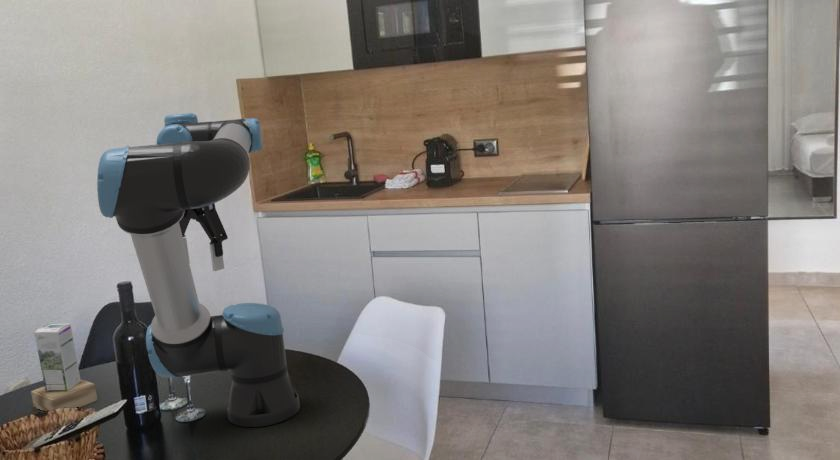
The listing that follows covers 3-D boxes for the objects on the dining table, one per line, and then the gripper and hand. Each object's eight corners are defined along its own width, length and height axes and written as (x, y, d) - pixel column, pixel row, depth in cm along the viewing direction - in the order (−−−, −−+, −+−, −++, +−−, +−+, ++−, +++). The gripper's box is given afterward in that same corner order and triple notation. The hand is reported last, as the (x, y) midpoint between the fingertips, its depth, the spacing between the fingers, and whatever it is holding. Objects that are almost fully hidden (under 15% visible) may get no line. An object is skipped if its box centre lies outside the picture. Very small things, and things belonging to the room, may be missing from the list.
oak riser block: (97, 400, 178) (94, 383, 177) (55, 416, 170) (52, 399, 170) (75, 392, 184) (72, 375, 183) (33, 407, 176) (30, 390, 176)
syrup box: (81, 381, 179) (71, 322, 176) (67, 391, 173) (56, 330, 170) (59, 382, 180) (48, 322, 177) (44, 392, 174) (33, 331, 171)
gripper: (235, 178, 176) (246, 268, 180) (171, 176, 192) (183, 259, 196) (208, 183, 171) (220, 275, 175) (145, 181, 186) (157, 266, 190)
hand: (201, 267), depth 185 cm, fingers open, 13 cm apart
